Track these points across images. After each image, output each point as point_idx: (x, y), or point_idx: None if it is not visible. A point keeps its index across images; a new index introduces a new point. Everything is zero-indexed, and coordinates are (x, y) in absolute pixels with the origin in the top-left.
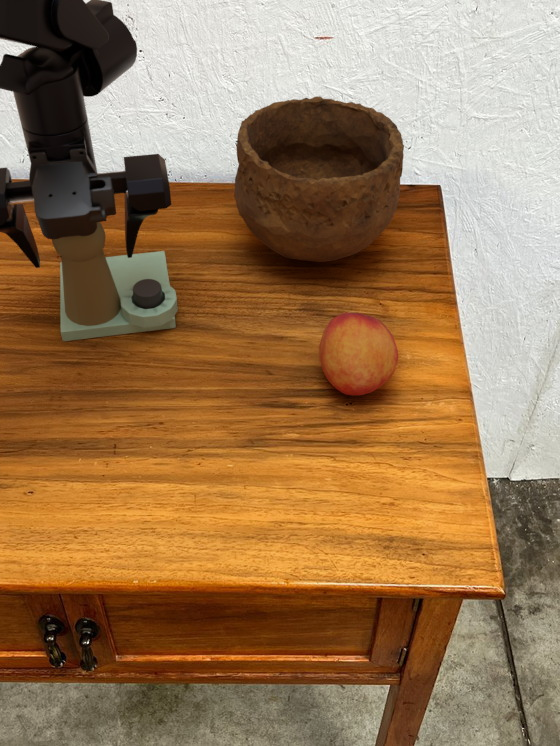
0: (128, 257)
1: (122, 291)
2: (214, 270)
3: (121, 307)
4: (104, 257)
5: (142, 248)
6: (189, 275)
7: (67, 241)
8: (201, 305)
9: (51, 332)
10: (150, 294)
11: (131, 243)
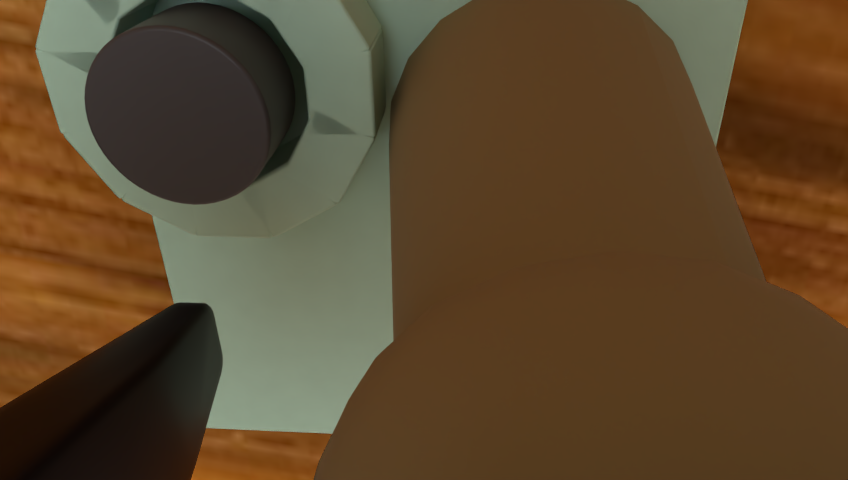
0: (199, 303)
1: (383, 224)
2: (12, 306)
3: (369, 41)
4: (395, 330)
5: (316, 462)
6: (112, 297)
7: None
8: (23, 101)
9: (775, 36)
10: (144, 50)
11: (62, 393)
